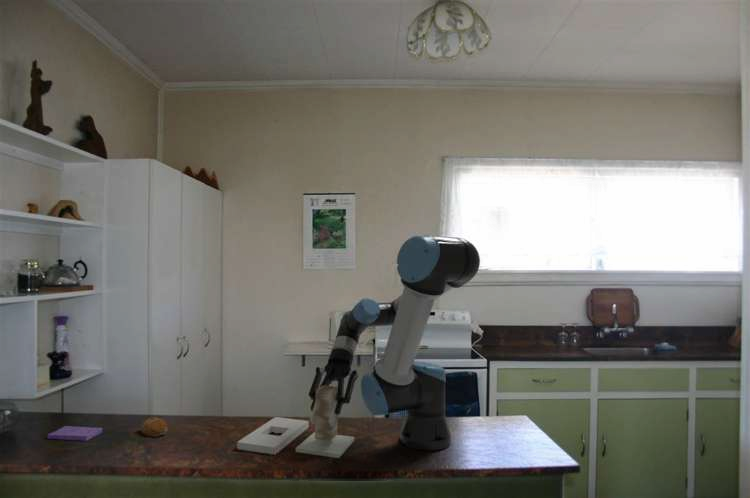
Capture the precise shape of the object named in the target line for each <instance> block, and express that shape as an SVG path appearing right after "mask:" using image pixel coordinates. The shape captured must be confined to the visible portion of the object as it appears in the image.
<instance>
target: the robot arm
mask: <svg viewBox="0 0 750 498" xmlns="http://www.w3.org/2000/svg"><path fill="white" fill-rule="evenodd" d="M396 257H397V258H396V264H397V266H396V271H397V273H398V276H399V277H400V282H401V284H402V286H403V290H402V294H400V295H398V297H396V298H395V299H394V300H393V301H391V302H377V301H376V300H375V299H372V298H371V297H364V298H362V299H361V300H359V302H357V303H356V304H355V305H354V306H353V308H352V309H350V310H348V311H345V312H344V313H343V315H342V318H341V319H340V323H339V325H338V326H339V327H338V329H337V333H336V336H335V339H334V342H333V345H332V347H331V351H330V354H329V358H328V360H327V364H326V365H325V366H324V367H321V368H320V367H319V366H317V367H316V368H315V375H314V379H313V381H312V383H311V385H310V390H309V392H308V396H309V398H310V400H311V401H312V402H311V405H310V411H311V415H310V418H309V422H311V424H312V425H315V400H316V389H318V388H320V387H321V386H331V384H332V383H333V382H337V387H338V398H337V400H338V402H337V401H334V404H333V408H332V411H331V414H330V418H329V421H328V422H329V424H330V426H331V427H333V426H334V422H335V419H336V415H338V416H339V415H340V414H341V411H342V408H343V405H346V404H347V405H348V404H350V403H351V398H352V394H353V390H354V387H355V383H356V381H357V379H358V377H359V373H358V372H357V370H356V369H355V370H352V369H351V368H352V364H353V362H354V357H355V354H356V350H357V347H358V343H359V340H360V337H361V335H362V334H363V333H364V332H365V331H366V330H367V329H368V328H370V327H371V328H373V327H387V326H392V327H391V331H390V332H389V336H388V340H387V343H386V346H385V349H384V352H383V357H382V358H380V359H377V361H376V362H375V364H374V367H373V371H372V372H368V373H365V374H364V375H363V376H362V377H361V380H360V381H361V382H360V391H361V396H362V400H363V403H364V405H365V407H366V409H367V410H368V412H369V413H371V414H372V415H373V416H388V415H391V414H394V413H395V414H396V413H400V412H405V411H406V413H405V417H404V420H403V424H402V427H401V429H400V437H399V438H400V442H401V443H402V444H403V445H404V446H406V447H408V448H410V449H414V450H415V449H416V450H420V451H440V450H443V449H446V448H448V447H449V446H450V445H451V443H452V435H451V431H450V427H449V423H448V422H447V421H448V420H447V418H446V384H447V380H446V370H445V368H444V367H443V366H441V365H439V364H436V363H432V362H426V361H417V360H416V357H417V354H418V351H419V348H420V345H421V342H422V339H423V336H424V333H425V330H426V326H427V324H428V321H429V317H430V315H431V311H432V309H433V306H434V303H435V301H436V300H438V299H439V298H440V297H442V296H443V295H444V294H446V293H448V292H449V291H451V290H452V289H459V288H462V287H463V286H464V285H466V284H467V283H468V282H470V281H471V280H472V279H474V277H475V276H476V275H477V273H478V271H479V269H480V265H481V264H480V263H481V260H480V259H481V257H480V253H479V251H478V249H477V248H476V247H475V245H474V244H473V243H472V242H471V241H469V240H468V239H466V238H462V237H451V236H450V237H449V236H437V235H436V236H434V235H429V234H428V235H427V234H424V235H414V236H412V237H410V238H408V239H407V240H406V241H404V243H402V245H401V247H400V249H399V251H398V253H397V256H396ZM324 374H325V375H324ZM323 376H324V379H323V380H322V378H323ZM348 376H349V378H348V382H347V386H346V389H345V379H346V378H347V377H348ZM344 389H345V391H344Z"/></svg>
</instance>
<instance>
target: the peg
mask: <svg viewBox="0 0 750 498" xmlns="http://www.w3.org/2000/svg"><path fill="white" fill-rule="evenodd" d="M319 387H320V386H319ZM319 387H318V389H316V400H315V424H314V432H315V439H317V440H325V441H332V440H333V439H334V438H335V437H336V436H337V435H338V416H339V415H336V419H335V422H334V426H333V427H331V426H330V424H329V422H328V421H329V418H330V414H331V411H332V408H333V404H334V401H337V402H338V400H337V398H338V386H332V385H329V386H321V387H320V388H319Z"/></svg>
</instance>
